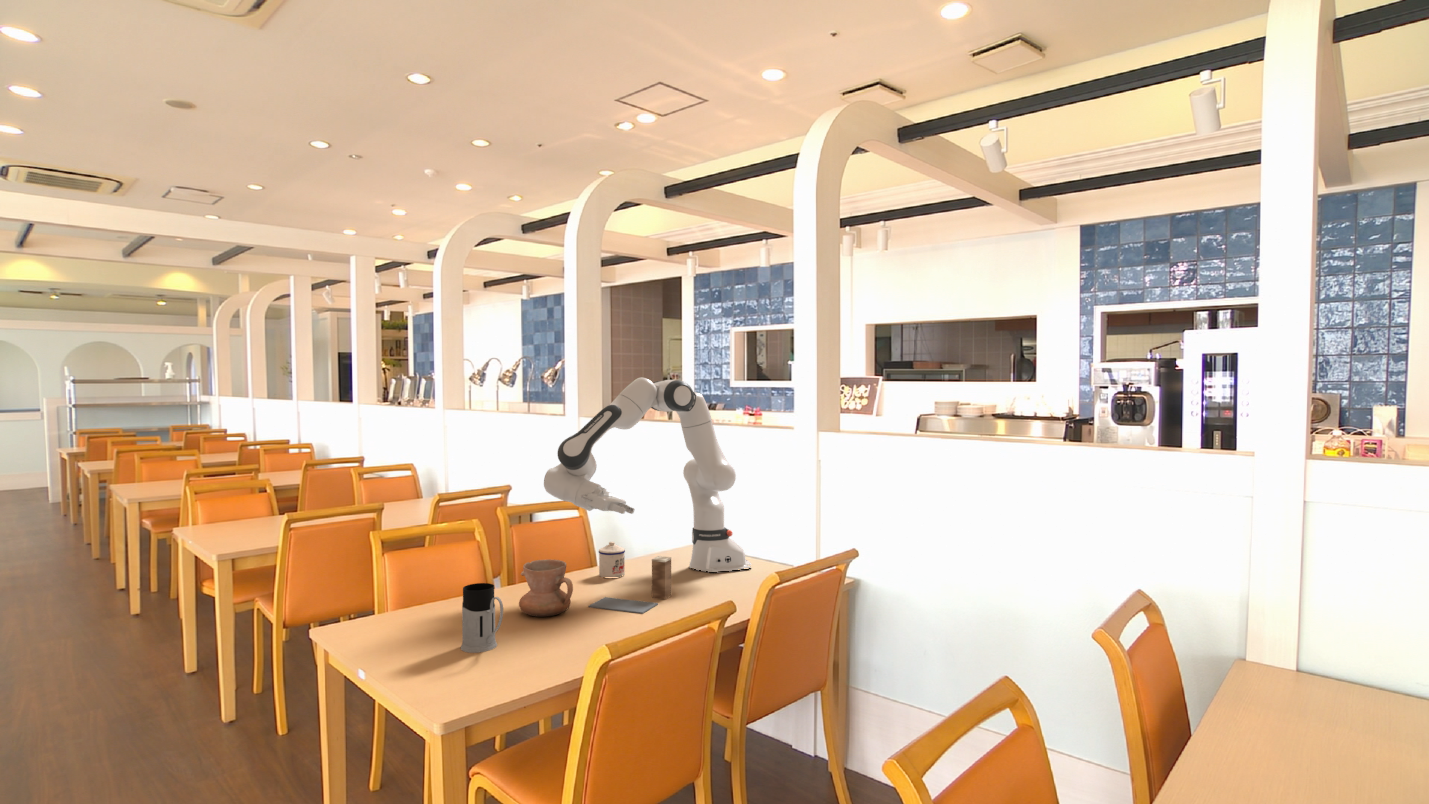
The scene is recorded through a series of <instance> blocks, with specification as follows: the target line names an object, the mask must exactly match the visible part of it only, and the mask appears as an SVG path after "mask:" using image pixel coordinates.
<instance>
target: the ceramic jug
mask: <svg viewBox="0 0 1429 804" xmlns="http://www.w3.org/2000/svg"><path fill="white" fill-rule="evenodd" d="M522 570H523V571H521V573H520V575H521V576H523V577H525V580H526V583H527V586H528V588H529V589H530V590H529V591H527V592H526V593H525V594H523V595H522V596H521V597H520V599H519V602H518V607H519V609H520V611H521V612H522V613H524V614H526V615H529V616H530V617H532V616H533V617H538V618H539V617H540V618H541V617H551V616H555V615H556V616H557V615H559V614H562V613H564V612H565V611H567V610H568V609H569V607H570V606H571V604H572V603H571V598H572V595H573V592H574V584H573V582H572V580H571V579H570V578H568V577H565V575H566V571H567V562H566V561H564V560H559V559H537V560H532V561H531V562H525V563H524V564H523V569H522ZM564 583H565V584H566V586H567V588H566V589H567V591H566V592H565V591H564V590H562V589H561V586H562V584H564Z"/></svg>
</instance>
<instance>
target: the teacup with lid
mask: <svg viewBox="0 0 1429 804" xmlns="http://www.w3.org/2000/svg"><path fill="white" fill-rule="evenodd" d="M625 549H626V548H624V547H622V546H619V545H617V544H616V543H615V541H609V542H608V544H606V545H605V546H603V547H600V548H599V549H598V556H599V557H598V560H599V561H598V563H599V564H598V567H599V568H598V570H599V571H598V572H599V574H598V575H599V577H600V578H602V577H620V576H622V575H624V576H625V572H626V571H625V553H626V550H625ZM620 578H621V577H620Z"/></svg>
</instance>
